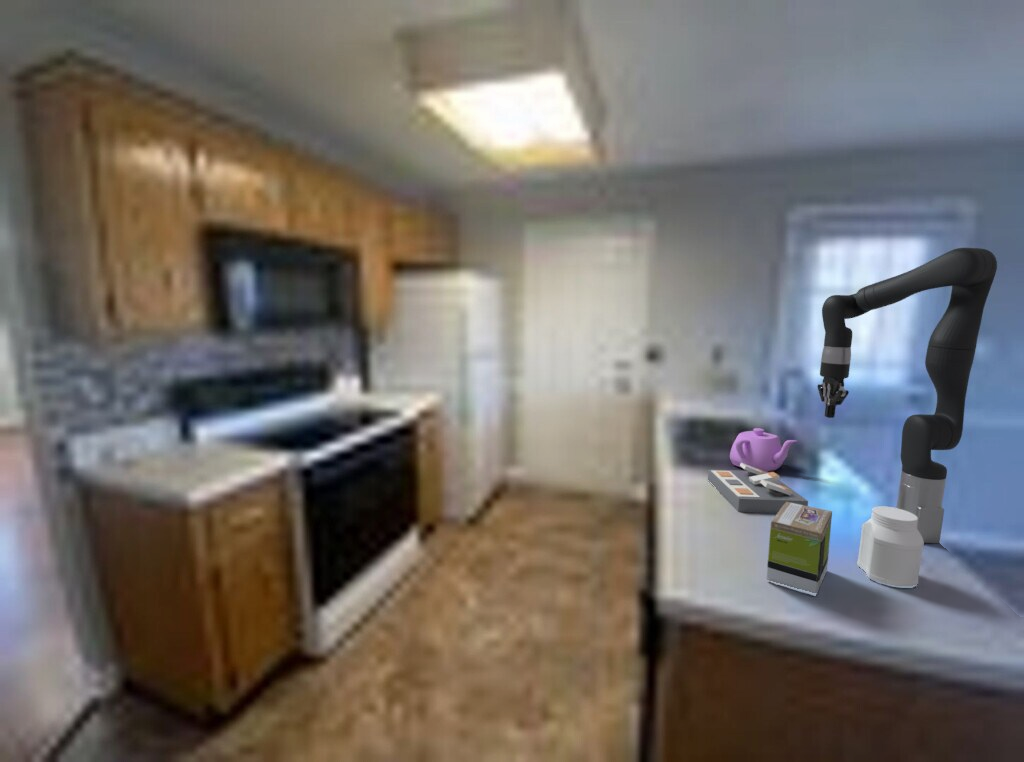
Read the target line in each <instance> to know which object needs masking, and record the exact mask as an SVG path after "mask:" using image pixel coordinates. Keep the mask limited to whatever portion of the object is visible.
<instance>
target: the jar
mask: <svg viewBox="0 0 1024 762" xmlns="http://www.w3.org/2000/svg"><path fill="white" fill-rule="evenodd" d="M917 522H918V518H917V516H916V515H914V514H912V513H910V512H908V511H905V510H902V509H898V508H897V507H893V506H892V507H891V506H886V505H885V506H884V505H882V506H881V505H880V506H879V505H878V506H874V507H873V508H872V509H871V517H870V518H869V519H868V520H866V522H864V523H863V524H862V525H861V533H860V542H859V550H858V557H857V558H858V559H857V560H856V561H857V562H856V566H857V565H858V566H859V567H860V568H861V569H860V568H859V567H858V566H857V567H858V568H859V569H860V570H862V569H863V570H864V571H865V572H866V574H867V575H866V574H865V575H866V577H867V576H868V577H869V578H871V579H873V580H876V581H879V582H882V583H885V584H890V585H895V586H913V585H916V584H918V585H919V577H920V569H921V561H922V555H923V549H924V545H925V543H924V541H923V538H922V536H921V534H920V532H919V531H918V529H917ZM863 570H862V571H863ZM864 571H863V572H864ZM865 572H864V573H865Z"/></svg>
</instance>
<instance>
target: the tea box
mask: <svg viewBox="0 0 1024 762" xmlns="http://www.w3.org/2000/svg"><path fill="white" fill-rule="evenodd" d="M832 516H833V511H831V510H828V509H827V510H826V509H822V508H818V507H813V506H809V505H808V506H804V505H800V504H795V503H791V502H786V503H785V504H784V505H783V506H782V508H781V509H780V510H779V512H778V513H776V514H775V515H774V517H773V519H771V523H770V528H769V529H770V530H769V540H768V552H767V553H768V554H767V564H766V565H767V568H766V569H767V570H766V579H767V580H769V581H773V582H776V583H780V584H784V585H787V586H790V587H794V588H797V589H802V590H805V591H809V592H812V593H817V591H818V592H819V590H820V588H819V587H821V586H822V583H823V581H822V580H824V578H825V575H826V573H827V571H828V565H829V562H828V561H829V553H830V542H831V541H830V539H831V530H832V518H833V517H832ZM818 589H819V590H818ZM817 594H818V593H817Z"/></svg>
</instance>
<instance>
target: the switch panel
mask: <svg viewBox="0 0 1024 762" xmlns="http://www.w3.org/2000/svg"><path fill="white" fill-rule="evenodd" d="M764 472H765V473H770V471H764ZM756 475H757V474H755V473H752V472H750V471H747V470H740V469H739V470H735V469H734V470H732V469H708V472H707V481H708V480H709V481H710V482H711V483H712V484H713V485H714V486H715V487H716V489H717V490H718V491H719V492H720V493H721V494H722V495H723V496H724V497H725V498H724V497H723V496H722V495H721V494H720V493H719V492H718V491H717V490H716V489H715V490H716V491H717V492H718V493H719V494H720V495H721V496H722V497H723V498H724V499H725V500H726V501H727V502H728V503H729V504H730V505H731V506H732V507H733V508H734V509H735V510H736V511H737V512H741V513H742V512H743V513H768V514H769V513H770V514H777V513H778V512H779V510H780V509H781V508H782V506H783V505H784V504H785V503H786V502H791V503H795V504H800V505H804V506H809V501H808V499H806V498H805V497H803V496H802V495H801V494H799V493H798V492H797V491H795V490H794V489H792V488H791V487H789V486H788V485H787V484H786V483H784V482H782V481H781V479H780V480H776V481H771V482H772V483H775V484H778V485H782V486H785V487H787V488H788V489H790V490H791V491H792V494H791V495H788V494H785V493H782V492H779V491H776V490H773V489H770V488H767V487H765V486H764V485H762V484H756V485H754V484H753V483H752V482H751V481H749V477H751V476H756ZM709 481H708V482H709ZM710 482H709V483H710ZM711 483H710V484H711ZM712 484H711V485H712ZM713 485H712V486H713ZM714 486H713V487H714Z"/></svg>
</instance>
